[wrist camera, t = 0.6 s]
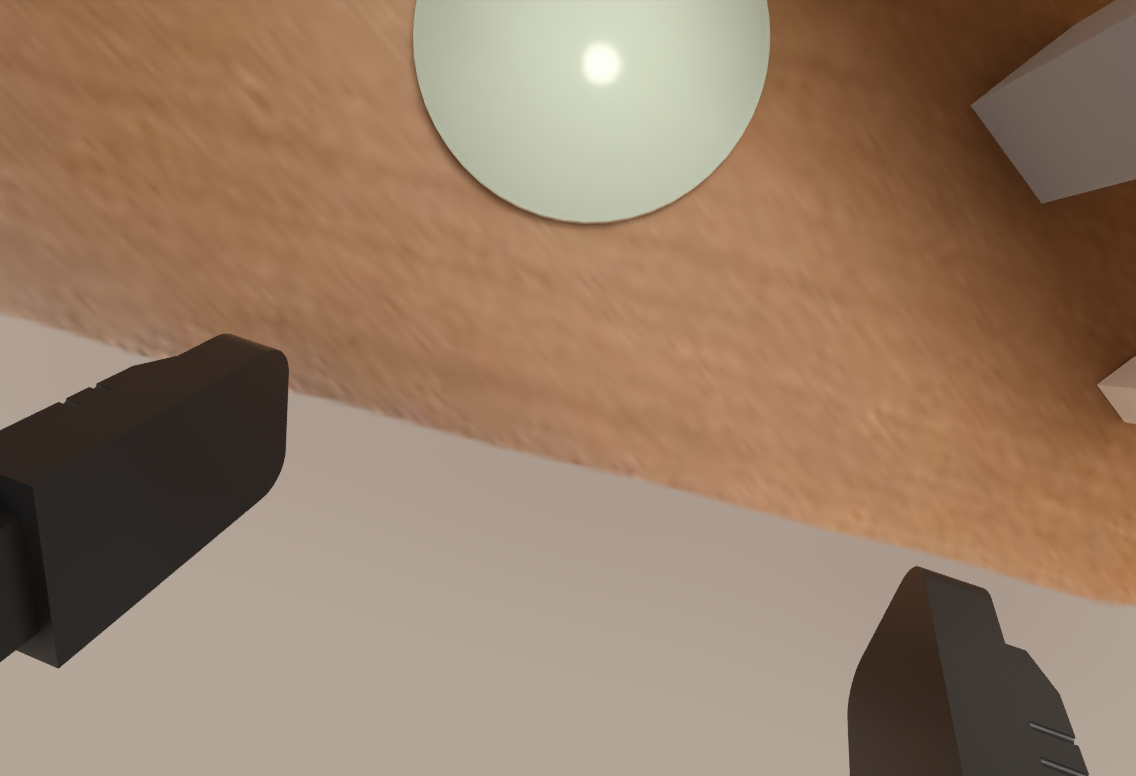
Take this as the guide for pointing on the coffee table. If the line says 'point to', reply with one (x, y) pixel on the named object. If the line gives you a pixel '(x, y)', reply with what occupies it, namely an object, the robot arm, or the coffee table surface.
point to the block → (1071, 108)
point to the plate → (591, 96)
